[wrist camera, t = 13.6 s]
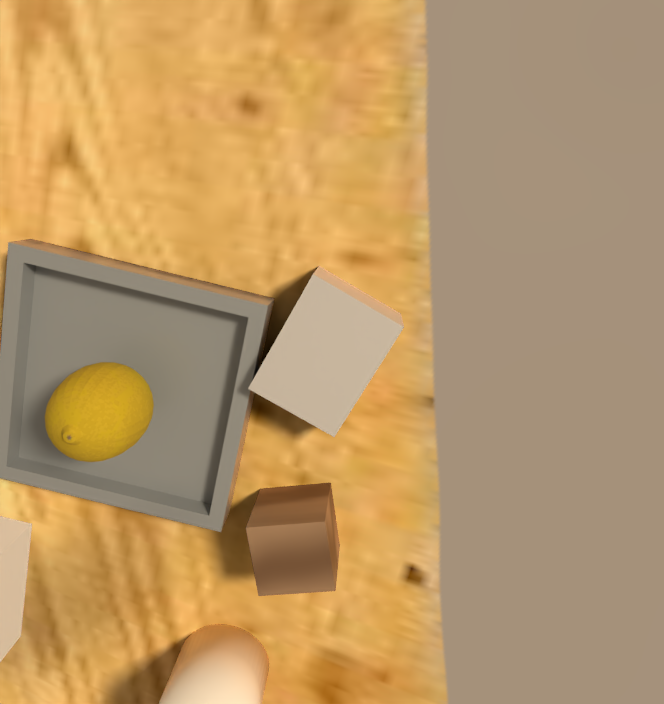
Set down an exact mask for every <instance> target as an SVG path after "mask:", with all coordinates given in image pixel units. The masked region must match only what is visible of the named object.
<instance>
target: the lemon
mask: <svg viewBox="0 0 664 704" xmlns="http://www.w3.org/2000/svg"><path fill="white" fill-rule="evenodd" d="M153 407H154V402H153V396H152V392H151V390H150V387H149V385H148V383H147V382H146V381H145V379H144V378H143V377H142V376H141V375H140V374H139V373H138V372H136V371H135V370H134V369H132V368H130V367H128V366H126V365H123V364H119V363H115V362H100V363H96V364H91V365H87V366H84V367H82V368H81V369H79V370H77V371H75V372H74V373H72V374H70V375H69V376H68V377H67V378H66V379H65V380H64V381H63V382H62V383H61V384H60V385H59V386H58V387H57V388H56V389H55V391H54V392H53V394H52V396H51V398H50V400H49V402H48V404H47V407H46V412H45V427H46V431H47V434H48V437H49V438H50V440H51V442H52V443H53V445H54V446H55V447H56V448H57V449H58V450H59V451H60V452H62V453H63V454H65V455H66V456H68V457H70V458H72V459H75V460H78V461H84V462H98V461H104V460H107V459H110V458H113V457H116V456H118V455H120V454H122V453H123V452H125V451H126V450H128V449H129V448H130V447H132V446H133V445H135V444H136V443H137V442H138V440H139V439H140V438H141V437H142V436H143V434H144V433H145V432H146V430H147V428H148V426H149V424H150V421H151V419H152V416H153Z"/></svg>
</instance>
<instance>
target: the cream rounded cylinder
mask: <svg viewBox="0 0 664 704" xmlns="http://www.w3.org/2000/svg"><path fill="white" fill-rule="evenodd" d="M268 671H269V659H268V655H267V653H266V651H265V649H264V647H263V646H262V644H261V643H260V642H259V641H258V640H257V639H256V638H255V637H254V636H253V635H251V634H250V633H249V632H247V631H245V630H243V629H241V628H238V627H235V626H231V625H223V624H215V625H209V626H205V627H202V628H200V629H198V630H196V631H195V632H193V633H192V634H191V635H190V636H189V637H188V638H187V639H186V641H185V642H184V644H183V646H182V648H181V651H180V653H179V656H178V658H177V661H176V663H175V665H174V668H173V670H172V673H171V675H170V677H169V680H168V682H167V685H166V687H165V690H164V692H163V694H162V697H161V699H160V702H159V704H262V700H263V695H264V690H265V686H266V681H267V676H268Z"/></svg>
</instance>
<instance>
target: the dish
mask: <svg viewBox="0 0 664 704" xmlns="http://www.w3.org/2000/svg"><path fill="white" fill-rule="evenodd" d="M273 303H274V298H270V297H266V296H262V295H258V294H254V293H250V292H246V291H242V290H238V289H234V288H230V287H225V286H221V285H217V284H213V283H209V282H205V281H201V280H197V279H193V278H189V277H185V276H180V275H176V274H172V273H168V272H164V271H160V270H156V269H152V268H148V267H144V266H140V265H135V264H131V263H127V262H123V261H119V260H115V259H111V258H107V257H103V256H99V255H95V254H90V253H86V252H82V251H78V250H74V249H70V248H66V247H62V246H58V245H54V244H50V243H45V242H41V241H37V240H33V239H28V240H21V241H14V242H9V243H8V256H7V269H6V283H5V296H4V309H3V322H2V336H1V349H0V478H2V479H6V480H10V481H14V482H18V483H22V484H26V485H31V486H35V487H39V488H43V489H47V490H51V491H55V492H59V493H63V494H67V495H71V496H76V497H80V498H84V499H88V500H92V501H96V502H100V503H104V504H108V505H112V506H116V507H121V508H125V509H129V510H133V511H137V512H141V513H145V514H149V515H153V516H157V517H161V518H166V519H170V520H174V521H178V522H182V523H186V524H190V525H194V526H198V527H202V528H206V529H211V530H215V531H219V532H221V531H222V529H223V527H224V524H225V522H226V520H227V518H228V515H229V513H230V508H231V503H232V499H233V494H234V489H235V484H236V479H237V475H238V470H239V465H240V460H241V456H242V451H243V446H244V441H245V436H246V432H247V427H248V422H249V417H250V413H251V408H252V403H253V398H254V394H255V392H253V391H251V390H249V389H248V388H249V386H250V384H251V383H252V381H253V379H254V377H255V376H256V374H257V372H258V370H259V368H260V365H261V360H262V355H263V351H264V346H265V341H266V336H267V331H268V327H269V322H270V317H271V312H272V308H273ZM100 362H115V363H119V364H123V365H126V366H128V367H130V368H132V369H134V370H135V371H136V372H138V373H139V374H140V375H141V376H142V377H143V378H144V379H145V381H146V382H147V383H148V385H149V387H150V390H151V392H152V396H153V402H154V407H153V416H152V419H151V421H150V424H149V426H148V428H147V430H146V432H145V433H144V434H143V436H142V437H141V438H140V439H139V440H138V442H137V443H136V444H135V445H133V446H132V447H130V448H129V449H128V450H126V451H125V452H123V453H122V454H120V455H118V456H116V457H113V458H110V459H107V460H104V461H98V462H84V461H78V460H75V459H72V458H70V457H68V456H66V455H65V454H63V453H62V452H60V451H59V450H58V449H57V448H56V447H55V446H54V445H53V443H52V442H51V440H50V438H49V437H48V434H47V431H46V427H45V412H46V407H47V404H48V402H49V400H50V398H51V396H52V394H53V392H54V391H55V389H56V388H57V387H58V386H59V385H60V384H61V383H62V382H63V381H64V380H65V379H66V378H67V377H68V376H69V375H70V374H72V373H74V372H75V371H77V370H79V369H81V368H82V367H84V366H87V365H91V364H96V363H100Z"/></svg>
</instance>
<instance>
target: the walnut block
mask: <svg viewBox="0 0 664 704" xmlns="http://www.w3.org/2000/svg"><path fill="white" fill-rule="evenodd" d="M246 532H247V537H248V542H249V548H250V553H251V558H252V564H253V569H254V574H255V579H256V585H257V590H258V595H259V596H266V595H281V594H296V593H311V592H326V591H335V590H336V579H337V569H338V558H339V547H340V544H339V537H338V530H337V523H336V516H335V510H334V503H333V496H332V489H331V483H322V484H310V485H298V486H287V487H275V488H264V489H260V491H259V494H258V497H257V499H256V502H255V504H254V507H253V510H252V512H251V515H250V518H249V520H248V523H247V526H246Z"/></svg>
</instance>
